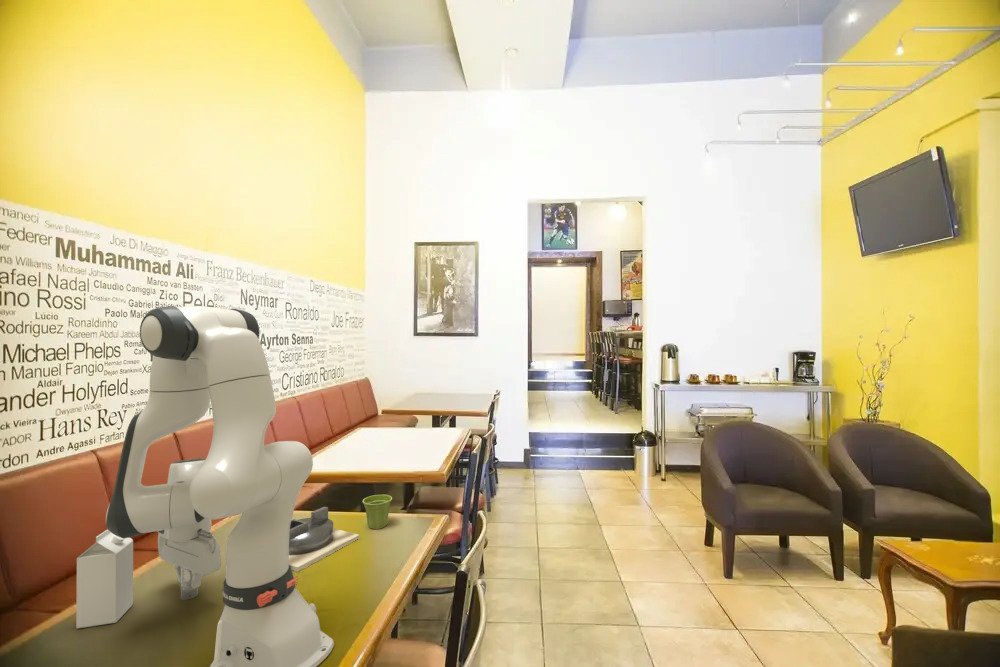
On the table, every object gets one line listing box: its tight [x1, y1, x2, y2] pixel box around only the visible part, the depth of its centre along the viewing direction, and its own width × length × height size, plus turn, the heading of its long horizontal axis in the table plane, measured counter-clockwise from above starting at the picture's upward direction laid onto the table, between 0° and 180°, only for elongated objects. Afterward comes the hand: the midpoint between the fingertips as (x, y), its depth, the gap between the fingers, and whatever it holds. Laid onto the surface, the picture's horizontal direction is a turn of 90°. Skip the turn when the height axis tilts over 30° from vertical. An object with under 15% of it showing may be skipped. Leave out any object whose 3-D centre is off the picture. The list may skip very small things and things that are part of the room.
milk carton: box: [75, 529, 134, 629], centre depth 99 cm, size 7×7×19 cm
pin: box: [180, 567, 199, 601], centre depth 106 cm, size 3×3×8 cm
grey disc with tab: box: [289, 506, 334, 554], centre depth 132 cm, size 16×16×8 cm
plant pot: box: [362, 494, 393, 530], centre depth 146 cm, size 9×9×9 cm
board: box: [289, 527, 361, 573], centre depth 131 cm, size 22×22×1 cm
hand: (189, 584), depth 106 cm, fingers closed on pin, 3 cm apart
